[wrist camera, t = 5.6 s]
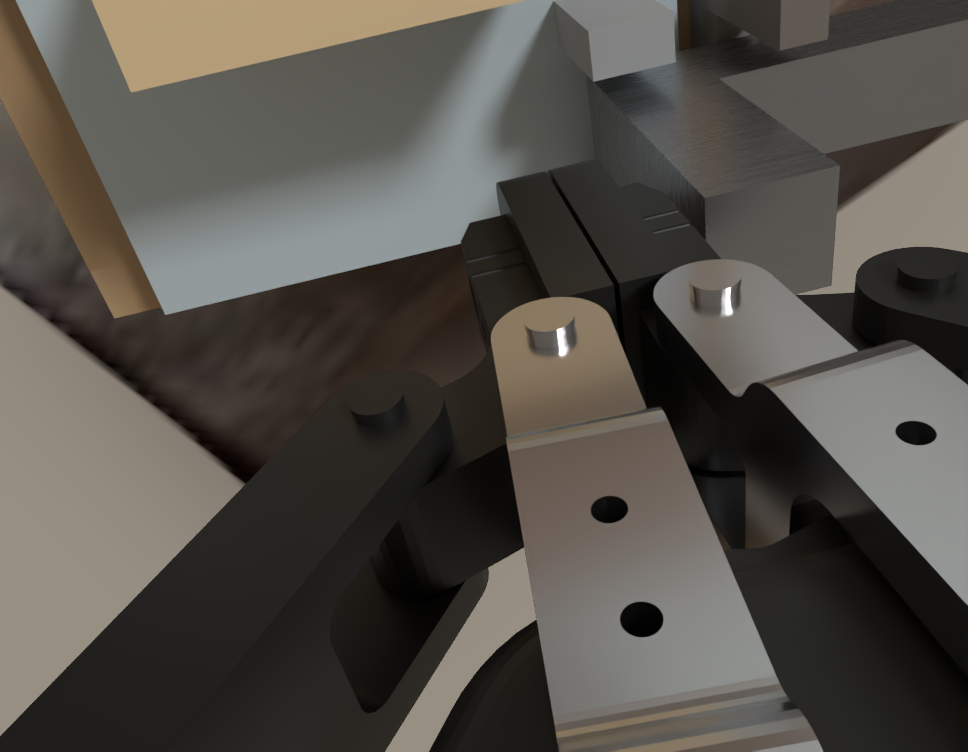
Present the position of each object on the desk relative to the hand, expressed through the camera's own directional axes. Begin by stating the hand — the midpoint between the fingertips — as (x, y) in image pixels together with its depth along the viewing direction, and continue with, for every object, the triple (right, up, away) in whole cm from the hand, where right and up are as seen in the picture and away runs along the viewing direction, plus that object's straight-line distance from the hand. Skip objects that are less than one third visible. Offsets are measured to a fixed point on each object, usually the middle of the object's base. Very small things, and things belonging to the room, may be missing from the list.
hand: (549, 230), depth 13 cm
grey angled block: (+5, +4, +4) cm, 7 cm away
